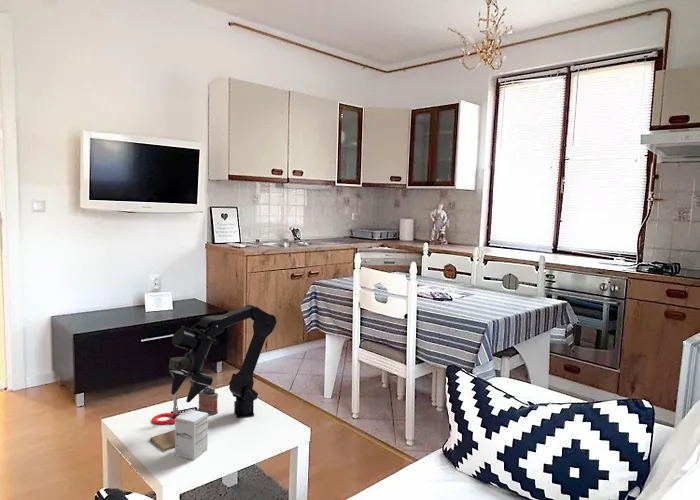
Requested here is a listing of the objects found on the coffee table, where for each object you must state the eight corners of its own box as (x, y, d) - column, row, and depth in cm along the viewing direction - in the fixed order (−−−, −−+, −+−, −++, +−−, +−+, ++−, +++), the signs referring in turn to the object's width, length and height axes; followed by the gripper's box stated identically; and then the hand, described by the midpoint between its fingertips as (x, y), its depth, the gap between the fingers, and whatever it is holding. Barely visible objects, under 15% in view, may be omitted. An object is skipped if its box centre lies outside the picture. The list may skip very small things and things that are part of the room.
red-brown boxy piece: (219, 412, 188) (220, 386, 187) (214, 415, 185) (214, 389, 184) (201, 408, 191) (201, 383, 190) (196, 411, 188) (196, 386, 187)
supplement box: (174, 456, 155) (174, 417, 154) (189, 445, 162) (189, 408, 161) (193, 461, 153) (193, 421, 152) (208, 450, 160) (208, 412, 159)
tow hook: (147, 425, 176) (173, 425, 176) (146, 390, 175) (172, 390, 175) (158, 415, 185) (182, 415, 184) (156, 381, 184) (181, 382, 183)
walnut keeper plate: (178, 430, 172) (178, 428, 172) (192, 441, 165) (192, 438, 165) (149, 440, 165) (149, 437, 165) (164, 451, 158) (164, 449, 158)
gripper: (164, 341, 170) (145, 386, 166) (195, 353, 158) (175, 402, 154) (190, 349, 178) (172, 392, 174) (221, 361, 166) (203, 408, 162)
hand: (180, 398), depth 166 cm, fingers open, 9 cm apart
